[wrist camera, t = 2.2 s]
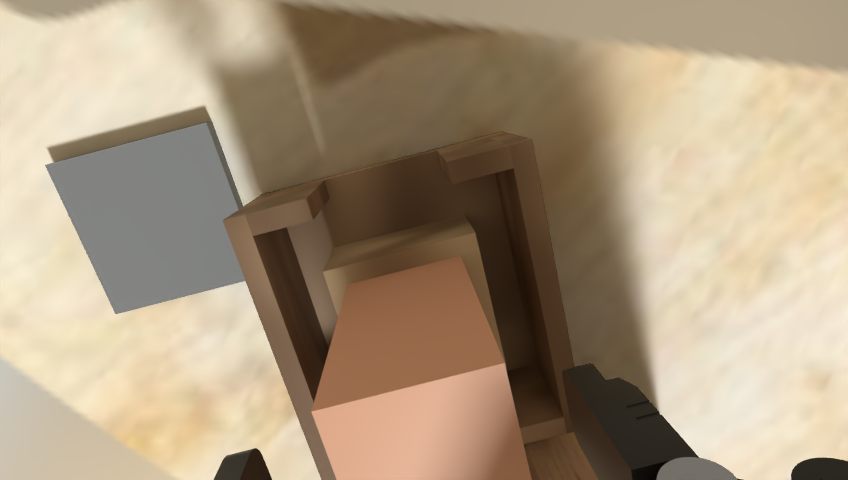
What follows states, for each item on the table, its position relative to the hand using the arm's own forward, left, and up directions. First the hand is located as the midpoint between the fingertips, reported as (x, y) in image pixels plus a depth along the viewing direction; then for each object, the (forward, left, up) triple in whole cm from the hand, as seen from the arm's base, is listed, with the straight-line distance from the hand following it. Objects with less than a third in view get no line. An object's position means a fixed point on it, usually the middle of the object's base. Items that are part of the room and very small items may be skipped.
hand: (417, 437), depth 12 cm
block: (0, 0, -7) cm, 7 cm away
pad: (+10, -6, -11) cm, 16 cm away
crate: (0, 0, -11) cm, 11 cm away
